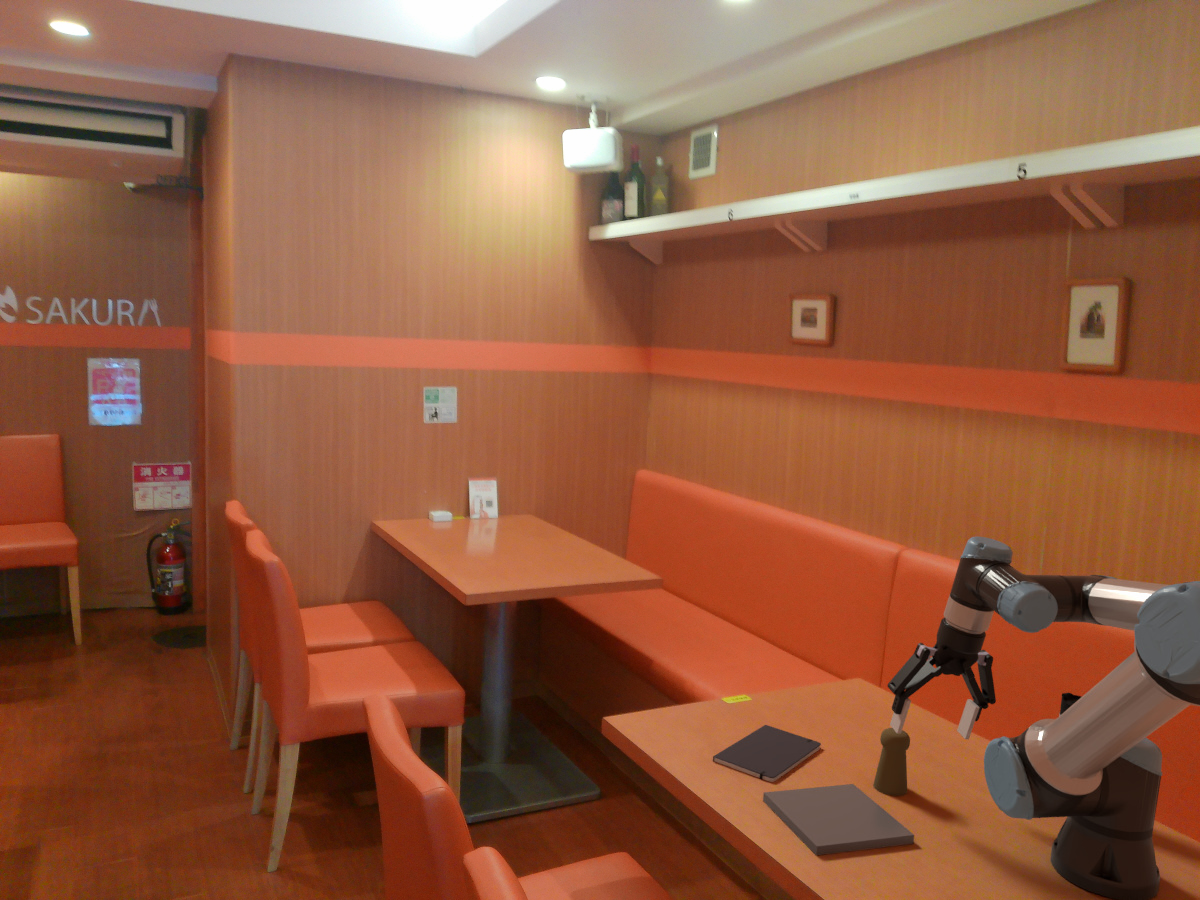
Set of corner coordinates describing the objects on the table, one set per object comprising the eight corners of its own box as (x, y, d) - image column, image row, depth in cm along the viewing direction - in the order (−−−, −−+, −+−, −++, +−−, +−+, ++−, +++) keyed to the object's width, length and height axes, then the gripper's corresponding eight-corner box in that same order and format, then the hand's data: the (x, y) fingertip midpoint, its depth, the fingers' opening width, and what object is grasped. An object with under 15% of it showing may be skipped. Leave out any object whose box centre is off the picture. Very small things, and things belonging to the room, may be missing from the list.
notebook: (764, 731, 198) (712, 764, 181) (765, 724, 197) (713, 756, 181) (821, 750, 190) (772, 786, 173) (822, 743, 190) (773, 778, 173)
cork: (909, 798, 171) (915, 739, 169) (874, 792, 172) (880, 734, 171) (905, 783, 177) (911, 726, 175) (871, 778, 178) (877, 722, 176)
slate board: (913, 843, 155) (914, 834, 155) (816, 855, 149) (816, 846, 149) (852, 791, 172) (853, 783, 172) (763, 800, 166) (763, 792, 166)
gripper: (1014, 622, 170) (978, 725, 175) (889, 607, 164) (856, 715, 170) (1039, 641, 163) (1002, 749, 168) (910, 627, 157) (876, 738, 163)
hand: (929, 732), depth 169 cm, fingers open, 13 cm apart
